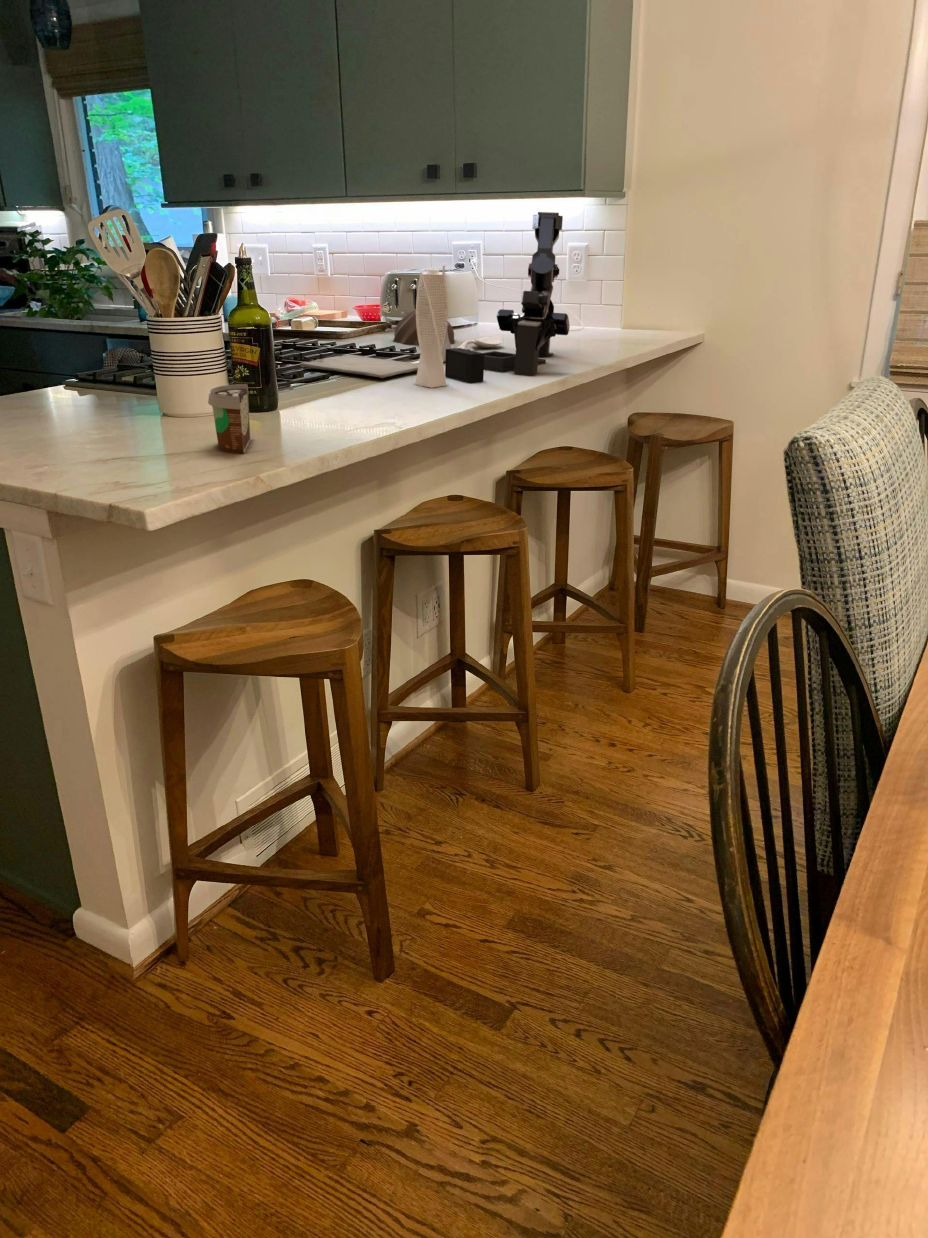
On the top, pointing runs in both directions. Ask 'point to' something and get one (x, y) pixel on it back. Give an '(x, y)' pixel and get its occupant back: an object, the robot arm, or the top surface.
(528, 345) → the pad block
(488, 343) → the spoon
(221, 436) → the food container
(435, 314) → the skyscraper
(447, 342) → the flask
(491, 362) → the dark grey tray
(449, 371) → the black rectangular block
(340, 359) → the decorative slab
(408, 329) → the decorative dome
